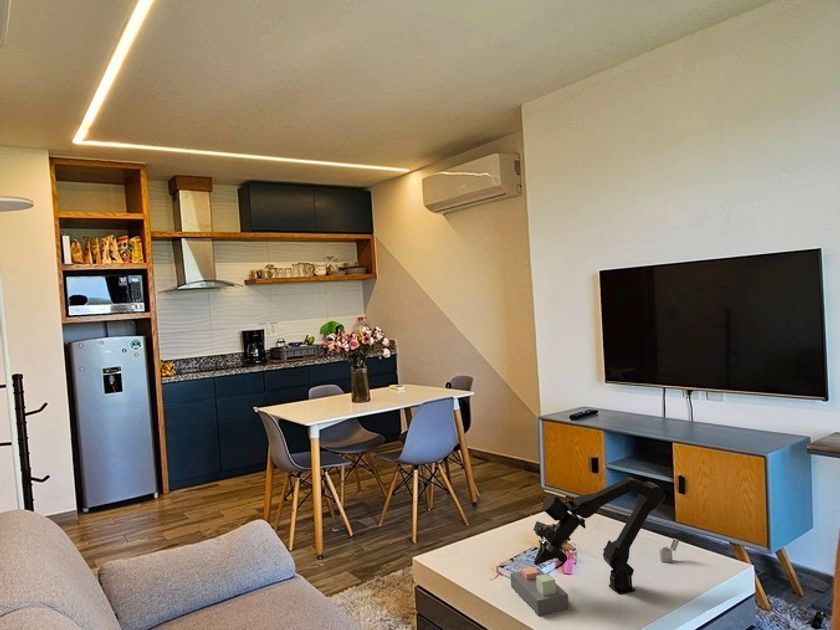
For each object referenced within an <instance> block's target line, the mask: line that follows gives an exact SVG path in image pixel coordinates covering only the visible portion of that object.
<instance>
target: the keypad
mask: <svg viewBox="0 0 840 630" xmlns="http://www.w3.org/2000/svg"><path fill="white" fill-rule="evenodd" d="M535 569H536V570H537V571H538V572H539V575H544V574H546V573H545V572H544V571H543V570H542V569H540V567H537V568H535ZM509 575H510V588H511V587H512V588H513V589H514V590H515V591H514V590H513V589H512V588H511V589H512V590H513V591H514V592H515V593H516V594H517V593H518V594H517V595H518V596H519V597H520V599H522V600H523V601H524V602H526V603H527V604H528V605H529V606H530V607H531V608H532V609H533V610H534V611H535V612H534V611H533V610H532V609H531V608H530V607H529V606H528V605H527V604H526V603H525V604H526V605H527V606H528V607H529V608H530V609H531V610H532V611H533V612H534V613H535V614H536V616H538V617H540V616H539V615H541V616H545V615H544V614H546V615H549V613H550V614H555V613H558V612H564V611H567V610H570V607H569V606H570V605H569V594H568V592H566V590H564V589H563V588H562V587H561V586H559V584H557V582H555V586H556V594H552V595H547V596H542V595H541V594H540V593H539V592H538V591H537V585H536V579H533V580H527V581H526V580H525V579H524V578H523V577H522V576H521V570H520V571H516V572H511V573H510V574H509Z"/></svg>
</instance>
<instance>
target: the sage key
mask: <svg viewBox="0 0 840 630" xmlns="http://www.w3.org/2000/svg"><path fill="white" fill-rule="evenodd" d="M555 583H556V579H555V578H554V576H552V575H551V574H549V573H545V574H544V575H539V576H536V585H537V591H538V592H539V593H540V594H541V595H542V596H547V595H552V594H556V586H555Z"/></svg>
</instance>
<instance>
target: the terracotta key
mask: <svg viewBox="0 0 840 630" xmlns="http://www.w3.org/2000/svg"><path fill="white" fill-rule="evenodd" d="M520 571H521V576H522V577H523V578H524V579H525V580H526V581H527V580H533V579H536V576H539V572H538V571H537V570H536V568H535V567H534V566H529V567H524V568H521V569H520Z"/></svg>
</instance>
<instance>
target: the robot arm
mask: <svg viewBox="0 0 840 630" xmlns="http://www.w3.org/2000/svg"><path fill="white" fill-rule="evenodd" d="M632 492H634V493H636V494H637V503H636V505H635V507H634V509H632V510H633V511H632V512H631V514H630V515H629V517H628V519H627V521H626V523H625V524H624V526H623V528H622V530H621V531H620V533H619V535H618V537H617V538H616V539H615V540H614V541H611V540H608V541H607V543H606V545H605V547H604V548H603V549H602V551H603V554H602V557H603V561H604V562H605V563H606V564H607V565H608V566H609V567H610V568H611V570H610V575H609V584H608V587H609V588H611V590H613V591H614V592H616V593H617V594H618V595H622V594H627V593H630V592H631V593H632V592H635V591H636V588H634V587H633V577H632V576H633V575H634V572H635V568H633V567H632V566H631V565H630V564H629V563H628V562H629V558H630V551H631V547H632V544H633V543H634V542H635V539H636V538H637V536H638V534H639V532H640V530H641V529H642V527H643V526H644V524H645V521H646V520H647V519H648V516H649V515H650V513H651V512H652V511H653V510H656V509H657V508H658V507H660V505H661V503H662V502H663V501H664V500H665V497H666V494H665V491H664V490H663V488H662V487H660V486H659V485H657V484H655V483H654V482H651V481H646V482H644V481H641V480H638V479H635V478H633V477H630V476H626V477H624V478H623V479H621V480H620V481H618V482H616V483H613V484H611V485H609V486H608V487H605V488H603V489H601V490H599V491H597V492H593V493H588V494H582V495H579V496H576V497H574V498H573V499H572V500H568V501H562V500H561V498H560V497H559V496H557V494H554V495H553V496H552V497H549V498H548V499H546V500H545V501H544V502H543V504H542V506H541V510H542V511H543V512H544V513H546V514H547V515H548V516H549V517H550V518H551V519H552V520H554V521H555V522H556V521H558V522H557V523H556V524H555V523H552V524H551V525H548V524H545V523H543V522H540V521H538V520H537V521H536V522H535V524H534V527H533V528H532V529H533V531H534V533H535V535H536V536H537V537H539V538H541V539H538V543H539V549H538V552H537V553H536V556H535V558H534V561H533V564H534V565H535V566H539V565H541V564H543V563H546V562H548V561H551V560H558V561H559V562H561V564H563V565H565V564H566V562H567V561H568V555H567V554H566V552H565V551H563V550H564V547H563V546H564V544H565V543H566V542H567V541H568V542H570V541H571V540H572V539H571V536H572V535H573V533H574V532H575V531H576V530H577V529H578V528H579V526H581V527H582V529H586V528H587V527H586V519H588V518H589V519H590V517H592V516H593V515H595V514H596V513H598V512H599V510H600V509H601V507H603V506H606V505H607V504H609V503H611V502H613V501H615V500H617V499H619V498H621V497H624V496H625V495H628V494H630V493H632Z"/></svg>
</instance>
